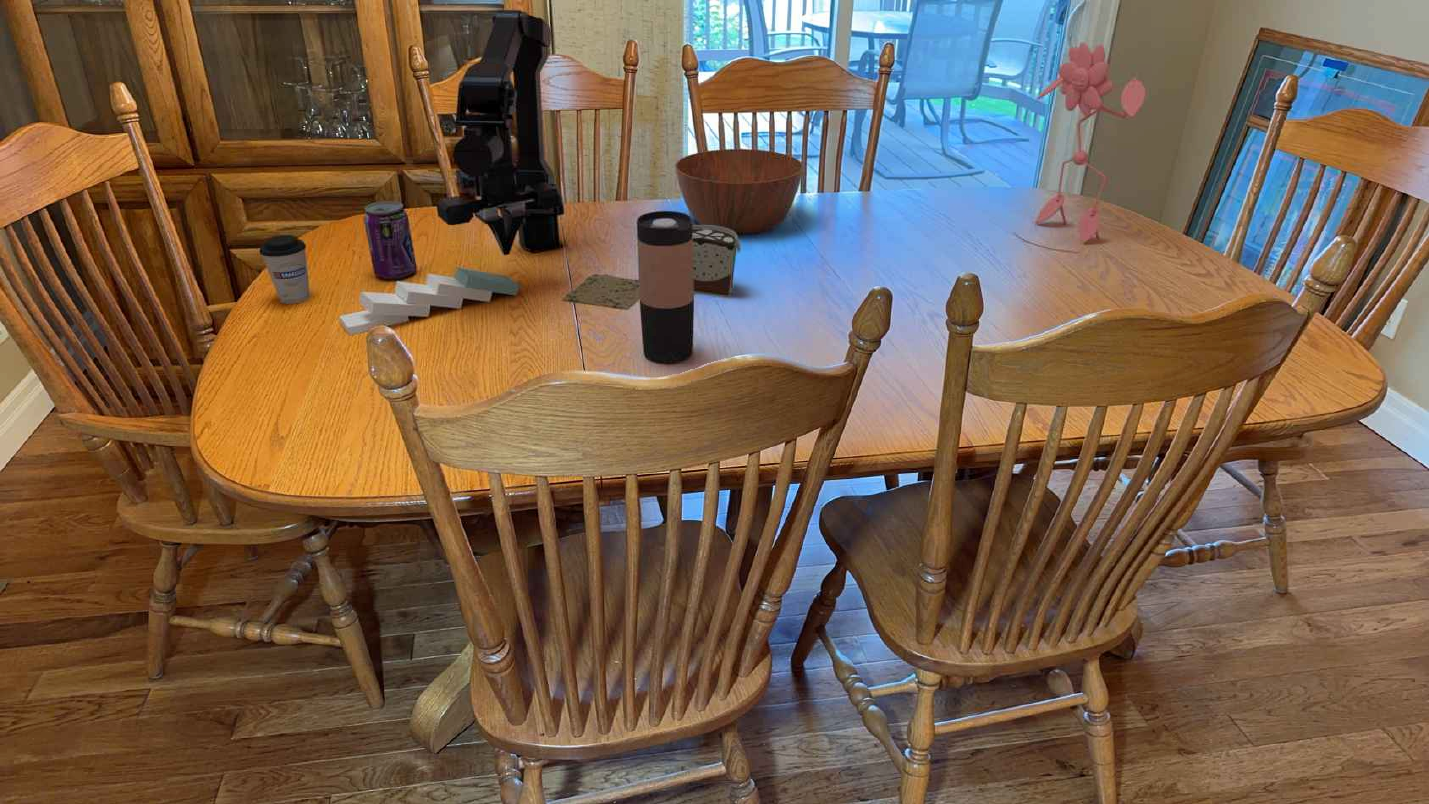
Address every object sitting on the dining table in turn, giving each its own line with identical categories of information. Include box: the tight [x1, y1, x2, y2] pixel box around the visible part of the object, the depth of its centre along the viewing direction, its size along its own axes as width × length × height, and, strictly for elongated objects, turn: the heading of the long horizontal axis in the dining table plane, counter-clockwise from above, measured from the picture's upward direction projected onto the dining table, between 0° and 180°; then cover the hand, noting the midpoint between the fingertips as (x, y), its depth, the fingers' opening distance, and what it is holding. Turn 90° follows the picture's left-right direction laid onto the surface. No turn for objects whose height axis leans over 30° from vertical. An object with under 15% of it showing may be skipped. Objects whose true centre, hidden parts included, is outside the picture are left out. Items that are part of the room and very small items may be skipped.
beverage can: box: [363, 200, 418, 280], centre depth 157 cm, size 7×7×12 cm
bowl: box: [675, 148, 805, 235], centre depth 182 cm, size 25×25×11 cm
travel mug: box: [636, 210, 695, 365], centre depth 128 cm, size 8×8×20 cm
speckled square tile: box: [561, 273, 640, 311], centre depth 153 cm, size 12×12×1 cm
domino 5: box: [453, 266, 520, 296], centre depth 150 cm, size 2×5×9 cm
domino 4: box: [425, 273, 493, 303], centre depth 148 cm, size 2×5×9 cm
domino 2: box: [358, 291, 431, 318], centre depth 142 cm, size 2×5×9 cm
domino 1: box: [338, 309, 410, 336], centre depth 142 cm, size 2×5×9 cm
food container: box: [692, 224, 742, 298], centre depth 152 cm, size 12×6×10 cm, turn 71°
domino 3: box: [394, 280, 464, 310], centre depth 145 cm, size 2×5×9 cm
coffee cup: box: [258, 234, 311, 305], centre depth 148 cm, size 7×7×10 cm
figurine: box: [1012, 42, 1146, 254], centre depth 168 cm, size 15×26×35 cm, turn 22°
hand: (506, 254), depth 150 cm, fingers closed
